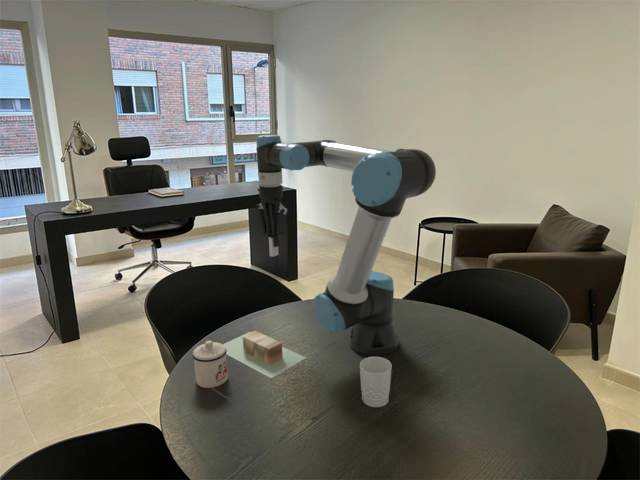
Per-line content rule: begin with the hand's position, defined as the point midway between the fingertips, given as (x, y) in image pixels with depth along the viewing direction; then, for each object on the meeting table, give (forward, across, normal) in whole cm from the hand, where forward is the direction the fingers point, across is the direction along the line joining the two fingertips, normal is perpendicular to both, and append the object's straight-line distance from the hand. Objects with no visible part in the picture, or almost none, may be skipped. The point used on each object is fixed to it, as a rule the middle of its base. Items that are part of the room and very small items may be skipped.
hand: (274, 255), depth 153 cm
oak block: (+22, +6, -18) cm, 29 cm away
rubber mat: (+25, +11, -18) cm, 32 cm away
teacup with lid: (+25, +10, -35) cm, 44 cm away
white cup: (+24, +51, -16) cm, 59 cm away
